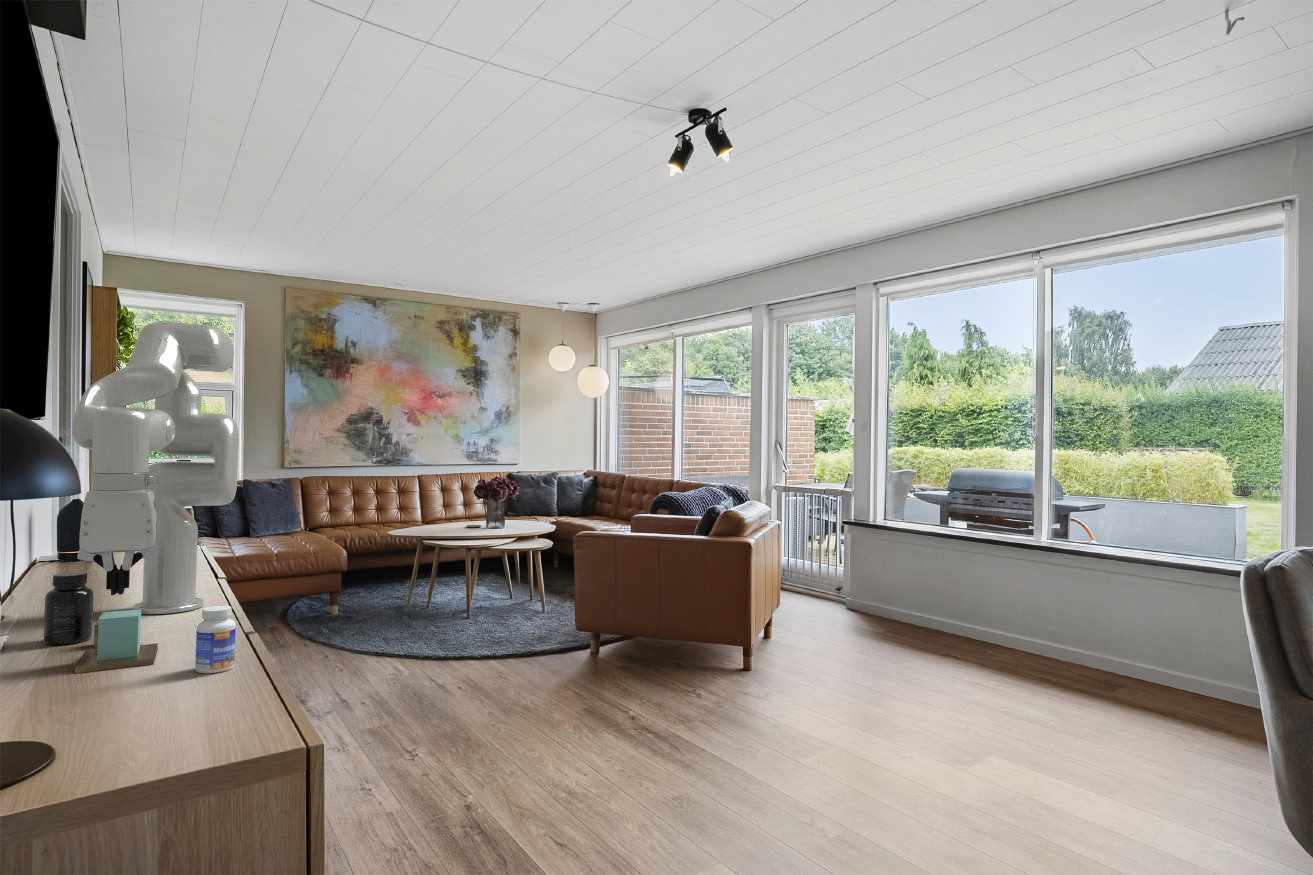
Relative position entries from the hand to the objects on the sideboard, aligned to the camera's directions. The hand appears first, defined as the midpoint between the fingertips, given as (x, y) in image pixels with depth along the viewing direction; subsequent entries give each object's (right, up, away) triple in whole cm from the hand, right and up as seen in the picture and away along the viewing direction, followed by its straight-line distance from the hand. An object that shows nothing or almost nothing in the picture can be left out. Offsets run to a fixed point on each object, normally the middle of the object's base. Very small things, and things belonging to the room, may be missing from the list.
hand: (117, 592), depth 119 cm
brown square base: (+1, -11, -1) cm, 11 cm away
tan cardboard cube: (-8, -11, +7) cm, 15 cm away
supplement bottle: (-16, -11, +9) cm, 21 cm away
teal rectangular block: (+1, -10, -1) cm, 10 cm away
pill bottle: (+19, -12, -4) cm, 23 cm away
